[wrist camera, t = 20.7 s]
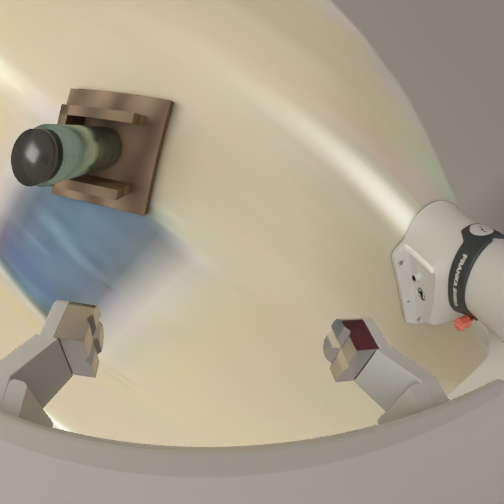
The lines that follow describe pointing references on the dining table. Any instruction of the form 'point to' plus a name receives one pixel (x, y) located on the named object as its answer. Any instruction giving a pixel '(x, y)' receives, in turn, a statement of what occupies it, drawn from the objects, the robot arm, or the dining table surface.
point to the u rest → (133, 147)
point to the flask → (63, 153)
